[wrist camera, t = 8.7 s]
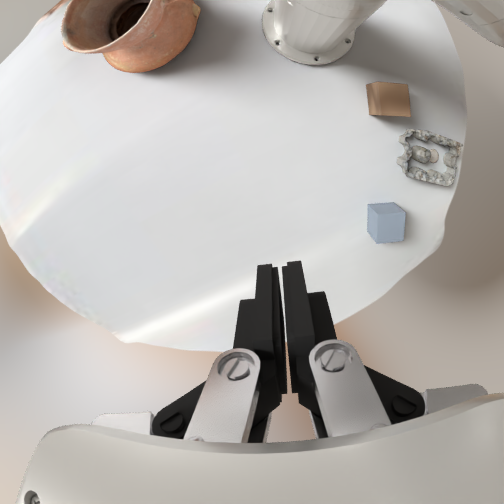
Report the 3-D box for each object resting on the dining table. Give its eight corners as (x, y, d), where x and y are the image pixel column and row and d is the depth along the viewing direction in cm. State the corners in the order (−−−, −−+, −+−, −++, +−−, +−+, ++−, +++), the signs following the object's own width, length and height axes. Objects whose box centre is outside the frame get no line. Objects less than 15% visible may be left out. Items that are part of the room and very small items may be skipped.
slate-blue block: (367, 204, 38) (378, 214, 34) (393, 202, 38) (405, 212, 34) (367, 231, 40) (376, 243, 36) (392, 228, 40) (403, 240, 36)
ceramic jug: (210, -17, 23) (181, -65, 10) (214, 62, 30) (180, 34, 17) (102, 15, 25) (47, -5, 12) (102, 89, 31) (39, 89, 19)
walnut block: (365, 84, 30) (377, 81, 26) (393, 86, 29) (407, 84, 25) (369, 114, 32) (381, 115, 28) (396, 115, 31) (410, 116, 27)
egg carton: (451, 139, 32) (465, 143, 28) (444, 182, 35) (457, 190, 32) (398, 123, 32) (411, 125, 28) (392, 171, 36) (404, 177, 32)
